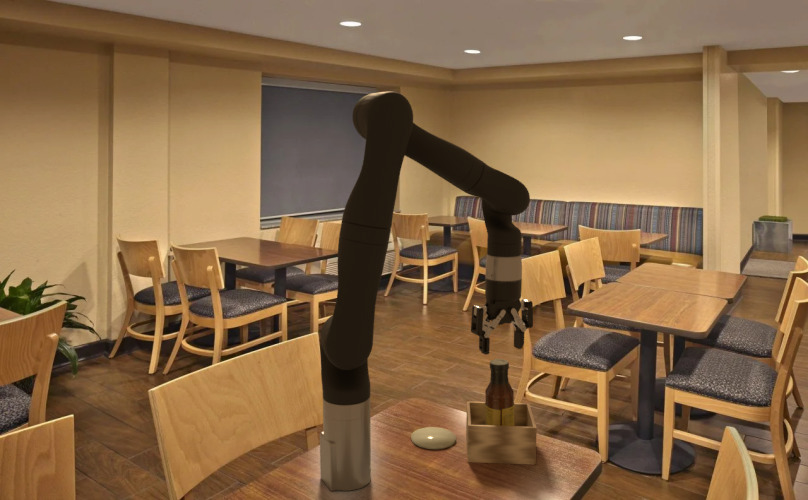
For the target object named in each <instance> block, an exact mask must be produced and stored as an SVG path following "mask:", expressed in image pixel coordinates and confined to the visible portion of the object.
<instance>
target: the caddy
mask: <svg viewBox="0 0 808 500" xmlns="http://www.w3.org/2000/svg"><path fill="white" fill-rule="evenodd" d="M485 402H486V401H468V400H467V401H466V419H465V420H466V422H465V423H466V424H465V425H466V426H465V438H466V440H465V441H466V458H467V459H466V460H467V463H484V464H485V463H486V464H509V465H511V464H512V465H514V464H515V465H536V457H537V456H536V453H537V431H538V430H537V429H538V428H537V425H536V421H535V418H534V415H533V412H532V408H531V405H530V403H529V402H528V403H527V402H526V403H525V402H514V426H496V425H485Z"/></svg>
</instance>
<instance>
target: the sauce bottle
mask: <svg viewBox="0 0 808 500" xmlns="http://www.w3.org/2000/svg"><path fill="white" fill-rule="evenodd" d="M509 363H510V362H509V361H508V359H507V360H506V359H503V358H496V359H495V358H494V359H491V360H490V361H489V368H490V379H489V380H490V382H488V385H487V386H486V389H485V401H484V402H485V425H496V426H514V403H515V402H514V399H515V398H514V397H515V396H514V391H515V390H514V389H513V387H512V385H511V384H510V382H509V368H510V364H509Z"/></svg>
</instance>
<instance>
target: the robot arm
mask: <svg viewBox="0 0 808 500" xmlns="http://www.w3.org/2000/svg"><path fill="white" fill-rule="evenodd" d="M412 108H413V107H412V105H411V104H410V101H409V100H408V99H407V98H406V96H404V95H403V94H402V93H400V92H396V91H379V92H372V93H369V94H367V95H364V96H363V97H361V98H360V99H359V100H358V101H357V102H356V103H355V105H354V107H353V110H352V123H353V126H354V128H355V130H356V132H357V133H358V135H359V136H361V137H362V138H363V139H365V147H364V152H363V153H364V155H363V161H362V165H361V169H360V171H359V175H358V177H357V180H356V182H355V184H354V186H353V188H352V190H351V192H350V194H349V197H348V199H347V201H346V204H345V207H344V209H343V213H342V217H341V222H340V224H341V225H340V228H339V229H340V230H339V236H338V246H337V247H338V248H337V294H336V301H335V305H334V308H333V314H332V315H331V316H330V317H328V318H327V319H326V321H324V323H323V325H322V328H321V330H320V343H319V344H320V345H319V346H320V348H319V349H320V374H321V375H320V376H321V384H322V385H321V387H322V417H323V418H322V430H323V431H321V432H320V433H319V459H320V460H319V464H320V466H319V467H320V469H319V470H320V471H319V472H320V478H321V480H322V481H323V482H324V484H325V485H326V486H327V488H328V489H329V490H330V491H331V492H334V491H354V490H358V489H362V488H364V487H365V486H367V485H368V484H369V483H370V481H371V479H372V472H371V471H372V465H371V464H372V463H371V462H372V458H371V457H372V455H371V454H372V453H371V452H372V451H371V450H372V449H371V441H372V439H371V433H372V432H371V379H370V373H369V365H368V364H369V361H368V359H369V357H370V356H371V352H372V350H373V344H374V329H375V317H376V315H375V314H376V305H377V304H376V303H377V296H378V292H379V288H380V284H381V280H382V276H383V272H384V266H385V261H386V258H387V257H386V256H387V252H388V248H389V242H390V237H391V230H392V225H393V219H394V211H395V210H394V209H395V205H396V199H397V194H398V189H399V188H398V187H399V186H398V185H399V181H400V174H401V170H402V166H403V162H404V160H405V159H404V158H405V157H406V158H409V159H411V160H412V161H414V162H416V163H417V164H419V165H420V166H423V167H424V168H426V169H428V170H429V171H430V172H432V173H433V174H435V175H437V176H438V177H440V178H441V179H444V180H445V181H446V182H448V183H450V185H453V186H454V187H455V188H457V189H459V190H460V191H462V192H464V193H465V194H468V195H470V196H473V197H476V198H480V199H481V208H482V209H481V210H482V215H483V221H484V226H485V229H486V234H487V240H486V242H487V246H486V249H487V250H486V251H487V252H486V253H487V254H486V260H485V280H484V282H485V283H484V284H485V286H484V288H485V289H484V296H485V300H486V302H485V305H483V306H478V305H476V304H474V305H473V306H472V309H471V321H470V322H471V323H470V333H472V334H474V335H475V336H478V344H479V345H478V349H479V352H481V354H483V355H484V356H486V355H490V346H491V345H490V344H491V343H490V335H491V333H492V332H493V331H494V330H495V329H496V328H497V326H498V325H499V326H501V325H504V324H512V326H513V328H514V329H515V330H513V347H514V348H515V349H518V350H521V349H523V347H524V345H525V332H526V331H527V330H528V329H531V328H533V327H534V314H533V313H534V311H533V309H534V307H533V306H534V305H533V304H534V303H533V301H532V300H529V299H525V298H523V299H522V286H523V285H522V284H523V282H522V281H523V279H522V277H523V262H522V231H521V229H520V228H519V227H517V226H516V225H515V224H514V223H513V218H512V217H513V216H517V215H520V214H522V213H525V211H526V210H527V208H528V207H529V205H530V202H531V200H530V198H531V196H530V195H531V194H530V192H529V189H528V188H527V186H526V185H525V184H524V183H523V182H521V181H520V180H519V179H517V178H515V177H513V176H511V175H509V174H507V173H504V172H502V171H500V170H498V169H496V168H493V167H492V166H490V165H488V164H487V163H485V162H484V161H483V160H481V159H480V158H478V157H477V156H475V155H474V154H472V153H470V152H469V151H468V150H466V149H464V148H462V147H460V146H458V145H457V144H454V143H453V142H450V141H448V140H446V139H443V138H442V137H439V136H437V135H435V134H433V133H431V132H429V131H427V130H425V129H424V128H422V127H421V126H419V125H417V124H416V123H415V122H414V111H413V109H412ZM520 310H521V312H520V313H521V316H520V315H519V314H518V313H519V311H520Z"/></svg>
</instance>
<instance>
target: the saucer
mask: <svg viewBox="0 0 808 500" xmlns="http://www.w3.org/2000/svg"><path fill="white" fill-rule="evenodd" d="M410 436H411V437H410V440H411V442H412V444H414V445H415V446H416V447H420V448H423V449H427V450H442V449H447V448H449V447H452V446H453V445H454V444H455V443H456V440H457V439H456V437H457V436H456V434H455V433H454V432H453V431H451V430H449V429H446V428H444V427H437V426H428V427H427V426H426V427H422V428H418V429H416V430H415V431H413V432H412V433H411V435H410Z"/></svg>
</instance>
